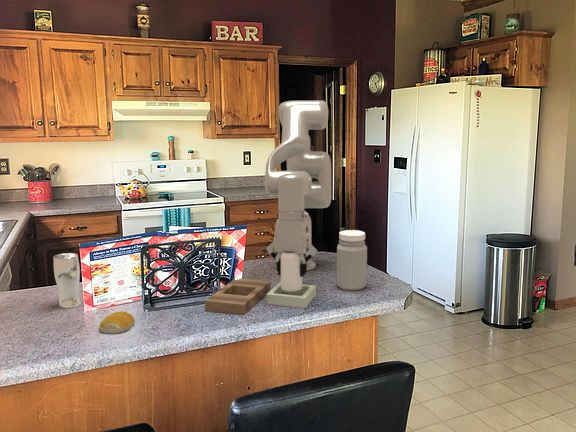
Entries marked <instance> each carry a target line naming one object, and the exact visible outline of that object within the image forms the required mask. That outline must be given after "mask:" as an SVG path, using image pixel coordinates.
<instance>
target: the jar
mask: <svg viewBox="0 0 576 432" xmlns="http://www.w3.org/2000/svg"><path fill="white" fill-rule="evenodd" d="M338 234H339V235H338V237H339V238H338V239H339V241H338V244H337V246H336V286H337V287H338V288H339V289H341V290H345V291H361V290H363V289H365V288H366V286H367V279H368V278H367V275H368V273H367V272H368V271H367V269H368V268H367V267H368V266H367V265H368V246H367V245H366V241H365V240H366V233H365V231H362V230H359V229H358V230H357V229H346V230H342V231H339V233H338Z"/></svg>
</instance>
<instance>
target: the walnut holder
mask: <svg viewBox="0 0 576 432" xmlns="http://www.w3.org/2000/svg"><path fill="white" fill-rule="evenodd" d="M271 286H272V285H271V281H268V280H259V279H250V278H249V279H248V278H239V280H238V279H237V280H234V279H233V280H231V281H230V282H229V283H227V284H226V285H224V286H222V288H220V289H219V290H220V291H219V290H217V291H216V292H214V293H213V294H212V295H211V296H209V297H208V298H206V299H205V300H204V309H205V311H207V312H213V313H223V314H233V315H240V316H241V315H242V316H245V315H247V313H248V312H249V311H250V310H251V309H252V308H254V306H256V305H257V304H258V303H259V302H260V301H261V300H262V299H263V298H264V297H265V296H266V294H267V293H268V292H269V291H270V290H271V289H272V287H271Z"/></svg>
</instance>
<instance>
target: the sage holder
mask: <svg viewBox="0 0 576 432" xmlns="http://www.w3.org/2000/svg"><path fill="white" fill-rule="evenodd" d="M265 296H266V298H265V299H266V305H273V306H284V307H293V308H301V309H306V308H307V307H308V306H309V304H310V303H312V300H313V299H314V298H315V297H316V296H317V285H314V284H313V285H312V284H304V283H302V289H301V290H300V291H298V292H285V291H283V290H282V289H281V281H280V282H278V283H277V284H276V285H274V287H273V288H271V290H270V291H269V292H268V293H267V294H266V295H265Z"/></svg>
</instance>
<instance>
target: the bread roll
mask: <svg viewBox="0 0 576 432" xmlns="http://www.w3.org/2000/svg"><path fill="white" fill-rule="evenodd" d="M135 323H136V321H135V318H134V316H133V315H132V314H131V313H130V312H127V311H123V310H122V311H120V310H119V311H115V312H112V313H110V314H109V315H107V316H105V317H104V318H103V319H102V320H101V321H100V322H99V330H100V331H101V333H104V334H112V335H113V334H114V335H116V334H121V333H123V332H127V331H128V330H129V329H130V328H131V327H133V326H134V324H135Z"/></svg>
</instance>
